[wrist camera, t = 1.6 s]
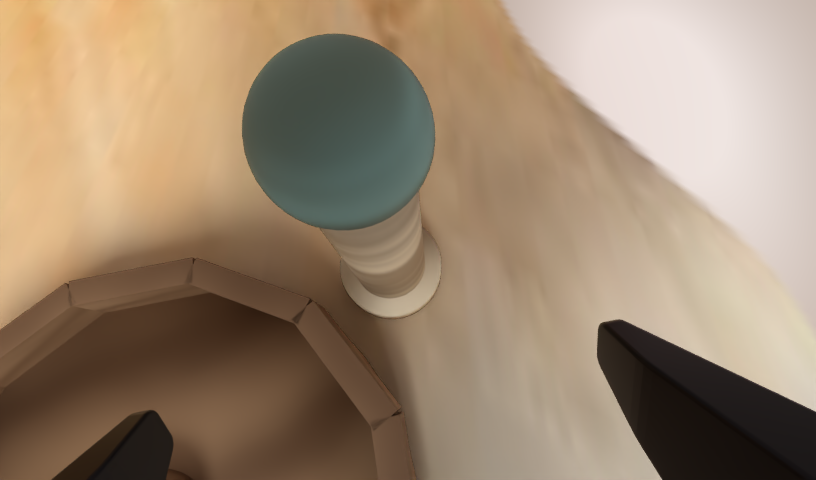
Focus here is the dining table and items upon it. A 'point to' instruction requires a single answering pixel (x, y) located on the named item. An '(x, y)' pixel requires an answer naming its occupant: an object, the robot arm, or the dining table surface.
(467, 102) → the dining table surface
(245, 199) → the dining table surface
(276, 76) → the bead post
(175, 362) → the walnut tray
